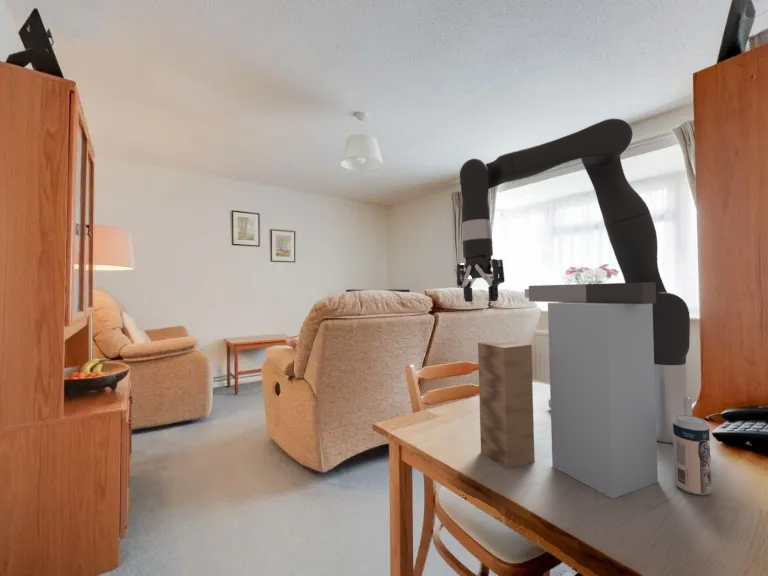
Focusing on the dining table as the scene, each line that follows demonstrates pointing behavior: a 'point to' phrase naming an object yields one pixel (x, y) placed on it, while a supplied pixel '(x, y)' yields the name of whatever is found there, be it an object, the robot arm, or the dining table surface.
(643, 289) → the dark grey long bar
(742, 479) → the dining table surface
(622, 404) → the tall stand
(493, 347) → the walnut block
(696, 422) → the cream and blue canister
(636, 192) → the robot arm
